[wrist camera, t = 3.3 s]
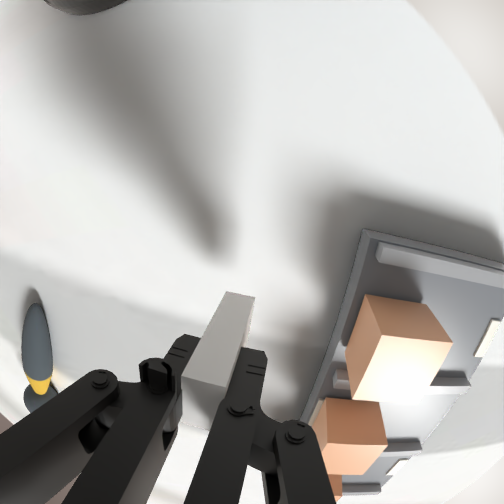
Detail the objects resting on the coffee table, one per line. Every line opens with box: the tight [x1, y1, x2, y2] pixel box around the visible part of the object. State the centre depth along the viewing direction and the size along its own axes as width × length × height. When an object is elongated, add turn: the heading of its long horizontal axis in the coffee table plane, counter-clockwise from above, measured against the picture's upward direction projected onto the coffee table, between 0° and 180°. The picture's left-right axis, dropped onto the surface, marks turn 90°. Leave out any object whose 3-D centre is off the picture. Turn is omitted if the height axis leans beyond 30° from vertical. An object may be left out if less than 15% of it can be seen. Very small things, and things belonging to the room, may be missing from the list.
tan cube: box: [328, 474, 342, 502], centre depth 19 cm, size 4×4×4 cm
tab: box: [344, 294, 453, 403], centre depth 14 cm, size 4×4×4 cm
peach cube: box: [312, 397, 388, 475], centre depth 16 cm, size 4×4×4 cm
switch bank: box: [299, 229, 504, 495], centre depth 19 cm, size 26×12×3 cm, turn 172°
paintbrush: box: [21, 303, 57, 413], centre depth 24 cm, size 20×5×5 cm, turn 163°
